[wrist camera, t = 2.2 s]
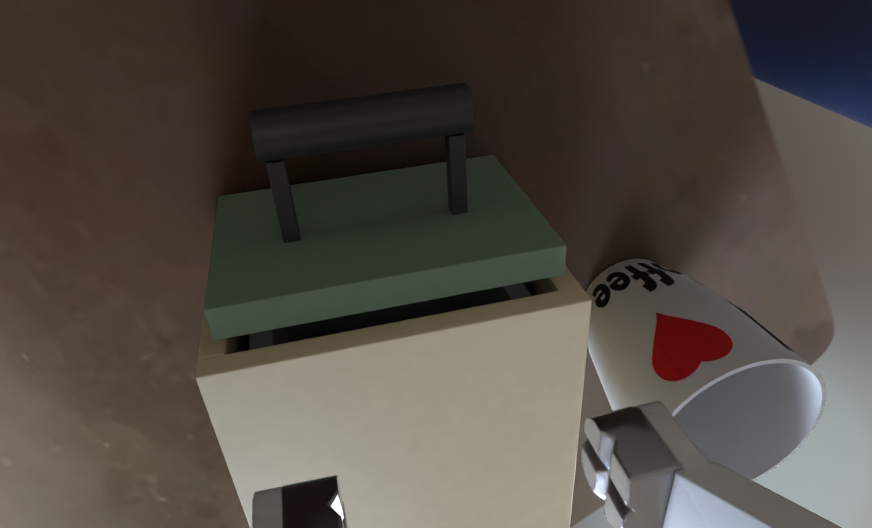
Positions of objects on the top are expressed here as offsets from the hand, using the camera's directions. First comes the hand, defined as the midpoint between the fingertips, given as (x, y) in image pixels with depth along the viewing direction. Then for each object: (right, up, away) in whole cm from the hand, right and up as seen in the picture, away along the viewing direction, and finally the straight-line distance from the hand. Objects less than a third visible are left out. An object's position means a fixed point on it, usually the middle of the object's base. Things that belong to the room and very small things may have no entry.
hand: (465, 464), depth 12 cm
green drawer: (-3, +3, +17) cm, 17 cm away
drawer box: (-3, 0, +20) cm, 20 cm away
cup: (+10, +2, +22) cm, 25 cm away
